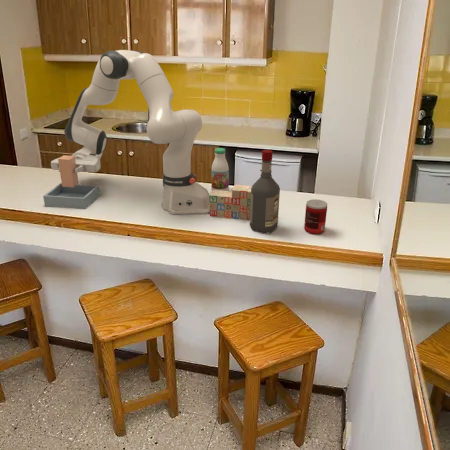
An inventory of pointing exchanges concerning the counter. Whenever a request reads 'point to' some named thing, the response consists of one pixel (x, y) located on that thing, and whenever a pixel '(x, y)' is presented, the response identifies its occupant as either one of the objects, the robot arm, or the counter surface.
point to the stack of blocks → (231, 203)
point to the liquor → (265, 198)
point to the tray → (72, 196)
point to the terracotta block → (68, 171)
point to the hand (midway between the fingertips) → (67, 170)
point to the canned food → (315, 216)
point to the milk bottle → (220, 171)
